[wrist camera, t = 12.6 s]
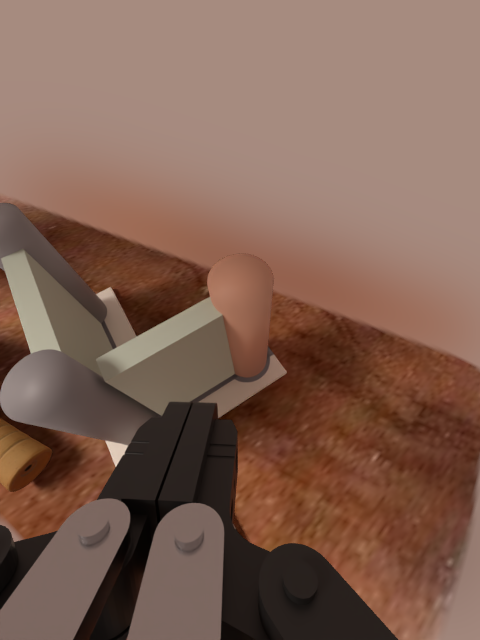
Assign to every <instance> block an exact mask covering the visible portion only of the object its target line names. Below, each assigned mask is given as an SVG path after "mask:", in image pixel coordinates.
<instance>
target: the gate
mask: <svg viewBox="0 0 480 640" xmlns="http://www.w3.org/2000/svg"><path fill="white" fill-rule="evenodd" d="M207 286H208V290H209V294H210V297H208V298H206V299H205V300H203V301H201V302H199V303H197V304H195V305H194V306H192V307H190V308H188V309H186V310H185V311H183V312H181V313H179V314H177V315H175V316H174V317H172V318H170V319H168V320H166V321H164V322H163V323H161V324H159V325H157V326H155V327H153V328H152V329H150V330H148V331H146V332H144V333H142V334H141V335H139V336H137V337H135V338H133V339H132V340H130V341H128V342H126V343H124V344H122V345H121V346H119V347H117V348H115V349H113V350H111V351H110V352H108V353H106V354H104V355H102V356H100V357H99V358H97V359H96V362H97V364H98V366H99V369H100V371H101V374H102V376H103V378H104V381H105V382H106V383H108V384H109V385H111V386H113V387H114V388H116V389H118V390H119V391H121V392H123V393H124V394H126V395H128V396H129V397H131V398H133V399H134V400H136V401H138V402H139V403H141V404H143V405H144V406H146V407H148V408H149V409H151V410H153V411H155V412H156V413H158V414H160V415H161V416H162V415H163V413H164V411H165V409H166V407H167V405H168V403H169V402H190V401H192V400H193V399H195V398H197V397H198V396H200V395H202V394H203V393H205V392H206V391H208V390H210V389H211V388H213V387H214V386H216V385H218V384H219V383H221V382H222V381H224V380H226V379H227V378H229V377H231V376H232V375H234V374H236V375H238V376H240V377H246V378H248V377H253V376H256V375H258V374H259V373H260V372H261V371H262V370H263V369H264V367H265V365H266V360H267V349H268V338H269V327H270V316H271V304H272V293H273V273H272V271H271V269H270V267H269V266H268V264H266V262H264V261H263V260H262V259H260V258H258V257H256V256H253V255H250V254H233V255H229V256H227V257H224V258H222V259H221V260H219V261H218V262H217V263H216V264H215V265H214V266H213V267H212V268H211V270H210V272H209V274H208V278H207Z"/></svg>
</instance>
